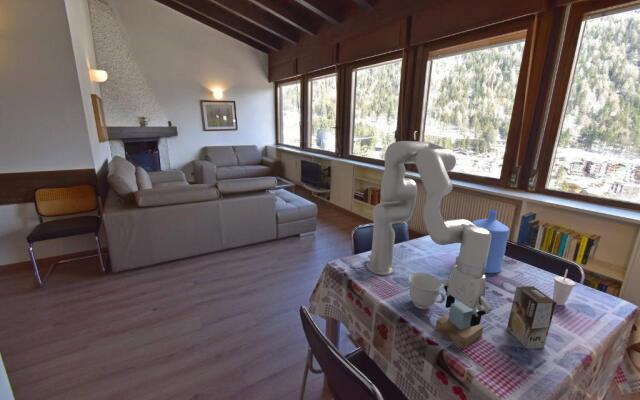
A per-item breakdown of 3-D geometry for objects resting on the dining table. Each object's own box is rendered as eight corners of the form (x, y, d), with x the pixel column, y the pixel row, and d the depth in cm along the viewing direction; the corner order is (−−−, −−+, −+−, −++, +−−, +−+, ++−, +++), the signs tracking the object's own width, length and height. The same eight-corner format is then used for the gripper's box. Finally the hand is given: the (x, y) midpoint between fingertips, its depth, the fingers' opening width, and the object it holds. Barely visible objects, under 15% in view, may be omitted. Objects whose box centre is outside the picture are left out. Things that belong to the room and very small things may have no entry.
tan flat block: (435, 330, 96) (436, 320, 95) (452, 320, 102) (454, 310, 101) (463, 350, 88) (466, 338, 87) (481, 337, 94) (483, 327, 93)
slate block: (448, 319, 95) (450, 303, 94) (459, 316, 97) (462, 300, 96) (460, 329, 91) (463, 313, 89) (472, 326, 93) (475, 309, 91)
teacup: (428, 323, 98) (432, 297, 96) (398, 299, 111) (400, 276, 109) (452, 314, 104) (457, 289, 101) (421, 292, 117) (424, 270, 114)
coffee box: (545, 348, 89) (558, 302, 85) (526, 349, 89) (538, 303, 85) (522, 328, 98) (533, 285, 94) (505, 328, 98) (515, 286, 93)
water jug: (501, 264, 143) (513, 210, 136) (500, 277, 131) (513, 218, 123) (466, 255, 151) (476, 204, 144) (462, 267, 138) (472, 211, 131)
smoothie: (564, 300, 115) (574, 268, 112) (572, 309, 110) (582, 276, 106) (545, 296, 117) (554, 264, 114) (551, 305, 112) (561, 272, 108)
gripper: (439, 256, 95) (432, 302, 99) (487, 283, 79) (476, 336, 84) (456, 253, 98) (448, 298, 102) (506, 279, 82) (494, 330, 87)
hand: (461, 315), depth 93 cm, fingers open, 9 cm apart
